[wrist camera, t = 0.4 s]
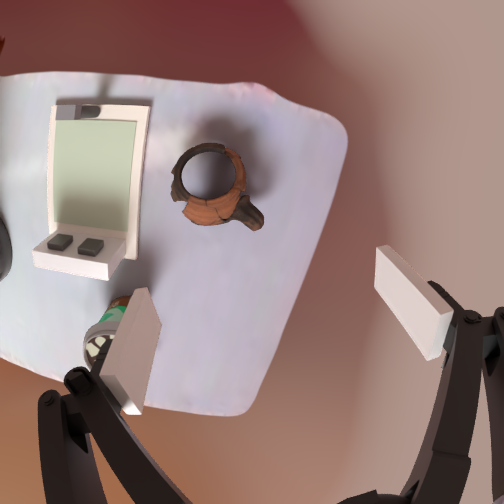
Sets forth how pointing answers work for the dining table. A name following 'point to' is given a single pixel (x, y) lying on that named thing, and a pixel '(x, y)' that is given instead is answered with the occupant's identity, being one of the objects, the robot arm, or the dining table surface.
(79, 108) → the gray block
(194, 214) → the pottery mug
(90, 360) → the food container
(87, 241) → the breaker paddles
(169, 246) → the dining table surface
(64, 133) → the stand
